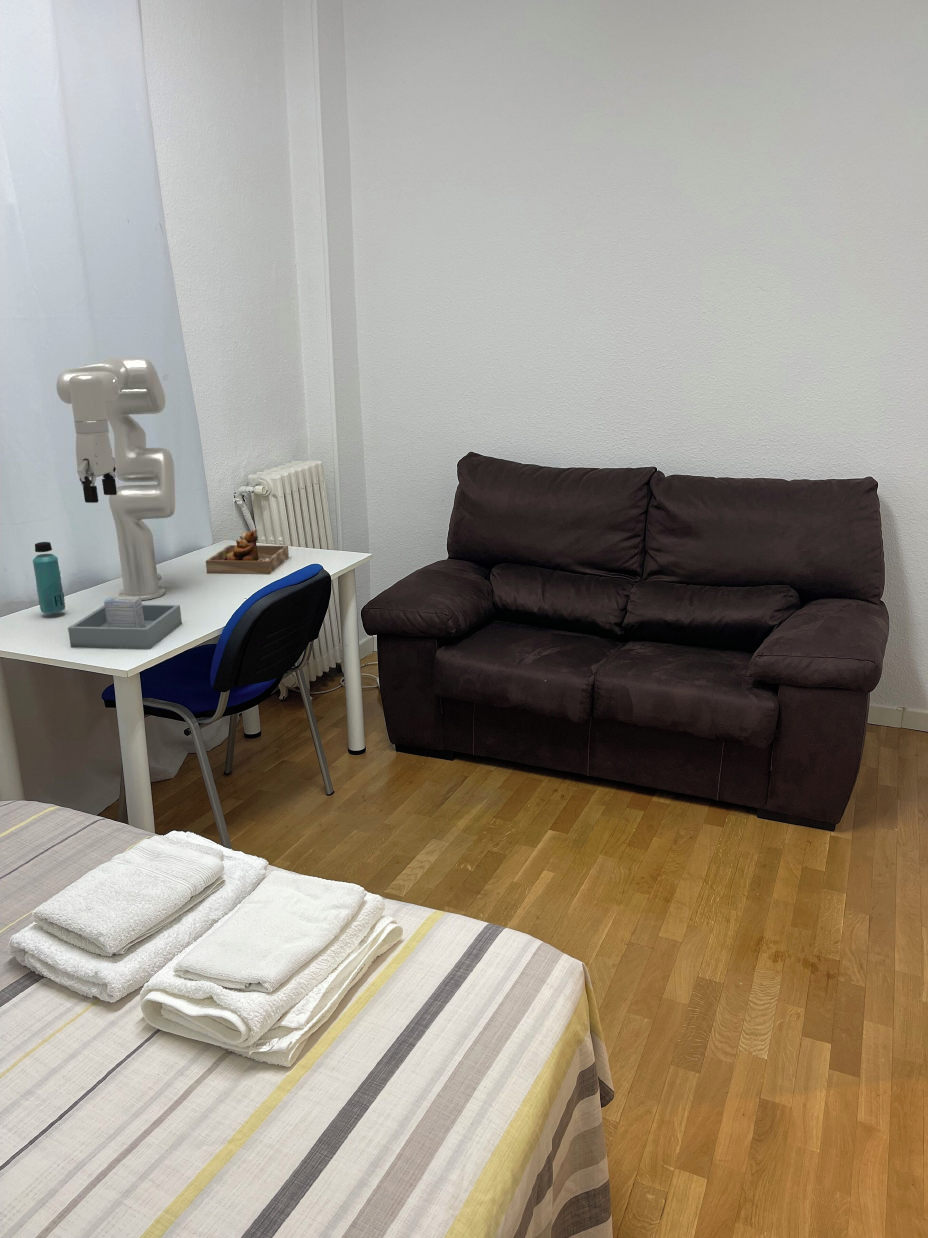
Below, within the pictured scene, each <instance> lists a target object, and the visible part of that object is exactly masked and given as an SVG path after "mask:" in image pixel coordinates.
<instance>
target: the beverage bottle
mask: <svg viewBox="0 0 928 1238" xmlns="http://www.w3.org/2000/svg"><path fill="white" fill-rule="evenodd" d="M52 550H53V548H52V544H51V542H50V541H39V542H37V543H35V544H34V551H35V552H36V553H41V554H37V555H36V556H35V557H34V558H33V559H32V564H33V565H32V566H33V571H34V576H35V582H36V583H35V584H36V592H37V598H38V605H39V610H40V611H41V613H43V614H55V613H60V612H63V611H64V610H65V609H66V599H65V593H64V590H63V583H62V577H61V570H60V565H59V558H58V556H56V555H55V554H53V553H47V552H50V551H52Z"/></svg>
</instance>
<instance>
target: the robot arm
mask: <svg viewBox="0 0 928 1238" xmlns="http://www.w3.org/2000/svg"><path fill="white" fill-rule="evenodd" d="M55 387H56V393H57V396H58V397H59V399H60V400H61V402H63V403H65V404H67V405H68V404H69V405H71V406H72V407H71V409H72V415H73V421H74V429H75V458H76V467H77V468H76V469H77V471H76V472H77V474H78V477H79V481H80V483H81V485H80V486H81V487H82V489H83V497H84V502H85V503H87V504H88V503H89V504H90V503H91V504H98V503H99V495H98V487H97V485H95V483H96V480H97V478H98V477H101V476H102V479H101V482H102V484H101V485H102V491H103V495H105V496H108V503H109V508H110V511H111V514H112V518H113V521H114V525H115V526H114V527H115V532H116V537H117V538H116V539H117V545H118V553H119V554H118V555H119V562H120V568H121V569H120V570H121V577H122V584H123V585H122V586H123V589H122V590H120V591H119V592H118V596H133V597H141V601H147V600H152V599H156V598H160V597H162V596H164V594H165V593H166V590H165V587H163V586H161V585H159V581H160V580H162V578H163V577H162V575H161V574H160V573H158V571H157V562H156V561H157V559H156V553H155V551H156V550H155V543H154V537H153V536H154V535H153V532H152V530H151V529H150V527H149V526H148V525H147V524H146V523H145V522H144V520H153V519H155V520H157V519H168V518H171V517H172V516H173V515H174V514H175V511H176V487H175V485H176V481H175V480H176V479H175V463H174V458H173V455H172V453H171V452H170V451H169V450H168V449H167V448H164V447H147V442H146V441H147V439H146V438H147V436H146V435H147V434H146V432H145V429H144V428H143V427H142V425H140V424H139V422H137V421H136V420H135V419H134V418H133V417H132V416H131V415H154V414H155V415H156V414H160V413H161V412H163V411H164V410H165V407H166V394H165V390H164V388H163V386H162V382H161V380H160V377H159V375H158V371H157V369H156V368H155V366H154V364H153V363H152V361H150V360H149V359H148V358H145V357H111V358H108V359H106V360H104V361H102V362H99V363H96V364H89V365H85V366H80V367H75V368H68V369H66V370H63V371H61V373H59V375H58V377H57V379H56V386H55ZM109 426H110V427H111V430H112V434H113V438H114V439H113V445H114V446H113V448H112V444H111V440H110V436H109V434H110V429H109ZM113 449H114V452H113ZM113 453H114V456H113ZM116 478H117V479H118V480H120V481H121V482H123V483H153V484H128V485H126V484H125V485H121V486H117V484H116ZM154 483H156V484H154Z"/></svg>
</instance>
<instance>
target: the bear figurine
mask: <svg viewBox="0 0 928 1238" xmlns="http://www.w3.org/2000/svg"><path fill="white" fill-rule="evenodd" d="M257 531H258V530H257V529H253V530H250V531H248V532H245V533H242V534H241V535H240V536H239V538H240V539H236V540H235V542H236V543H235V545H236V546H235V548H234V549H233V552H231V553H228V554H227V555H226V556H225V557H224V558H223V560H236V561H267V560H268V558H265V557H258V552H257V546H256V545H257V541H258V539H259V538H258V534H257Z"/></svg>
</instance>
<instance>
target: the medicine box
mask: <svg viewBox="0 0 928 1238" xmlns="http://www.w3.org/2000/svg"><path fill="white" fill-rule="evenodd" d="M142 601H143V600H141V597H133V596H119V595H117V596H115V595H114V596H110V597H108V598H107V599H105V600H104V601H103V603H104V604H103V606H104V605H105V612H106V619H107V626H108V627H116V628H145V623H144V616H143V609H142V604H143V603H142Z"/></svg>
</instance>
